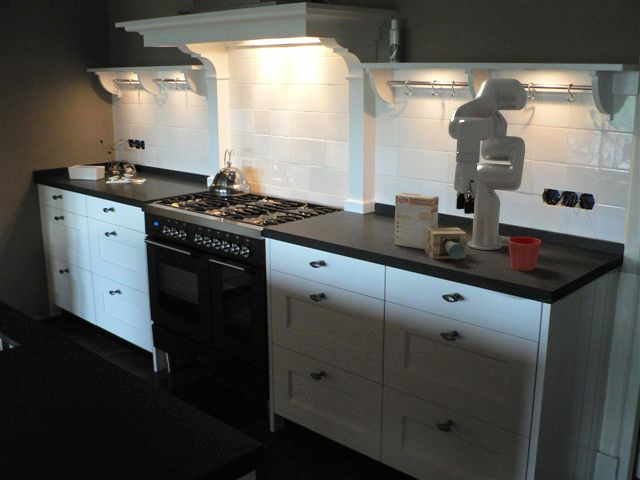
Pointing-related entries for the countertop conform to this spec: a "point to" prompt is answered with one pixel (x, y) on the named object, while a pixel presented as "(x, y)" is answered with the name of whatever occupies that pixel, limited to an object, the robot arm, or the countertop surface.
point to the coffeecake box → (414, 218)
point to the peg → (453, 249)
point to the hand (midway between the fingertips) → (464, 210)
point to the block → (436, 241)
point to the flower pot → (523, 252)
